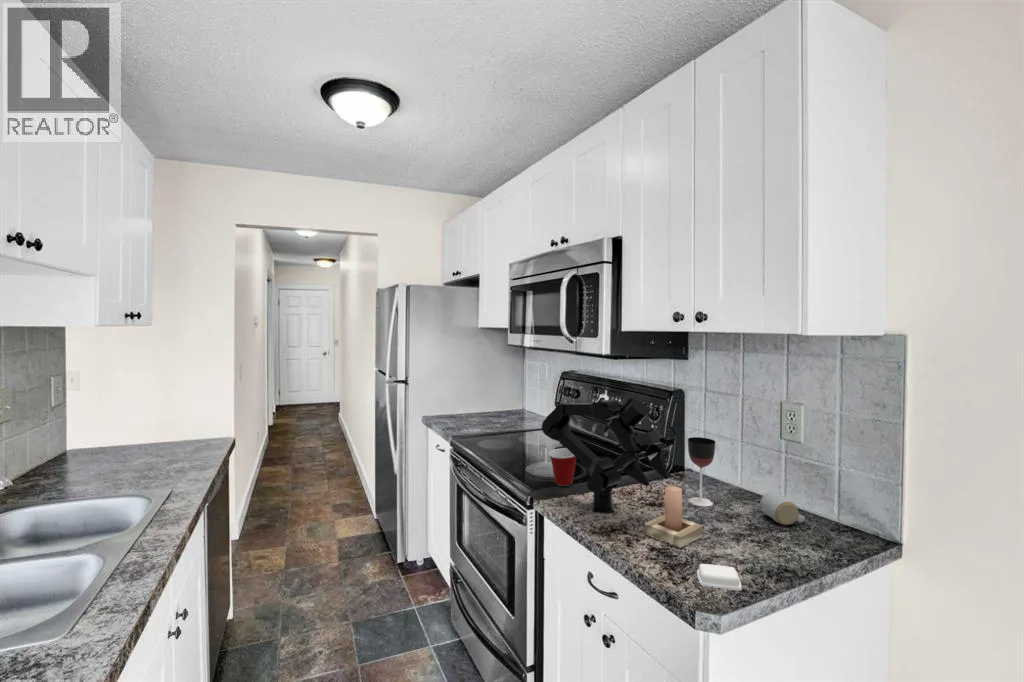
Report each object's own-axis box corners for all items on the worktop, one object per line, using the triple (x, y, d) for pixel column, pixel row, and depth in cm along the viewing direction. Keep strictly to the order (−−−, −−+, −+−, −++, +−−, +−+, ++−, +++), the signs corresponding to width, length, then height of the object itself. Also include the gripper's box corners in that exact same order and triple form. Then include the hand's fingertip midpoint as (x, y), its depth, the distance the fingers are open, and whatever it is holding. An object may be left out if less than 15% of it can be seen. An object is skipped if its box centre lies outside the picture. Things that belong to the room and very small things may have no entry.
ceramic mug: (775, 527, 137) (776, 500, 137) (759, 515, 146) (760, 490, 145) (811, 526, 138) (812, 500, 138) (793, 515, 146) (794, 490, 146)
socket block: (644, 534, 133) (644, 523, 133) (667, 523, 140) (667, 513, 140) (680, 548, 125) (681, 537, 125) (703, 536, 132) (703, 525, 132)
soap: (737, 576, 112) (737, 564, 112) (743, 593, 105) (743, 580, 105) (695, 572, 114) (695, 560, 114) (699, 587, 107) (699, 574, 107)
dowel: (663, 530, 135) (663, 485, 134) (679, 530, 134) (679, 486, 134) (666, 537, 130) (666, 491, 130) (683, 537, 130) (683, 491, 130)
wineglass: (698, 508, 151) (699, 444, 150) (681, 498, 160) (682, 438, 159) (720, 505, 153) (721, 442, 152) (702, 495, 162) (703, 436, 161)
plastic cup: (543, 481, 177) (543, 448, 177) (570, 478, 180) (570, 446, 180) (555, 491, 167) (555, 456, 166) (583, 487, 170) (583, 454, 170)
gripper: (621, 424, 133) (656, 473, 125) (660, 415, 145) (694, 459, 137) (599, 446, 140) (631, 495, 132) (638, 436, 151) (669, 480, 143)
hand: (657, 481), depth 136 cm, fingers open, 9 cm apart
